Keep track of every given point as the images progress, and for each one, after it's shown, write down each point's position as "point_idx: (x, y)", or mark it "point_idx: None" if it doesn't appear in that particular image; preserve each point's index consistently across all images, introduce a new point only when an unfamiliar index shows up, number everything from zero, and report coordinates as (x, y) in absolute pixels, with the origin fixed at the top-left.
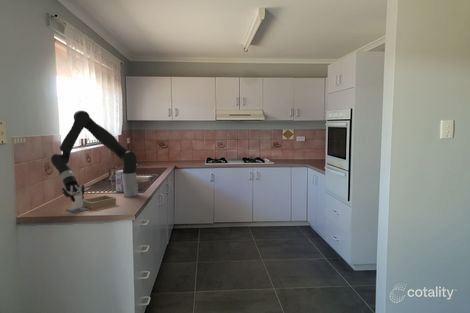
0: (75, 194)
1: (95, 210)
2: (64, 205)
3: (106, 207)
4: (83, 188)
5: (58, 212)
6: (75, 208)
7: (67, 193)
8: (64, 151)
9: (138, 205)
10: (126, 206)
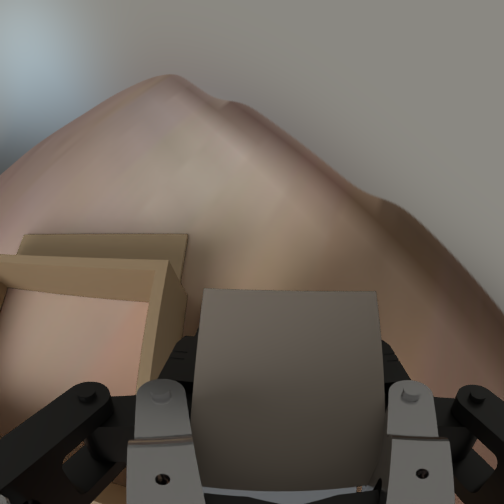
0: (345, 330)
1: (186, 240)
2: None
3: (88, 246)
4: (17, 447)
5: None
6: None
7: (492, 406)
8: None
9: (14, 168)
10: (34, 189)
